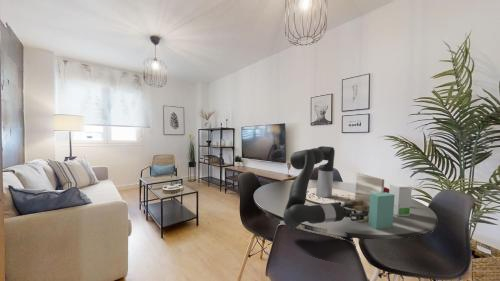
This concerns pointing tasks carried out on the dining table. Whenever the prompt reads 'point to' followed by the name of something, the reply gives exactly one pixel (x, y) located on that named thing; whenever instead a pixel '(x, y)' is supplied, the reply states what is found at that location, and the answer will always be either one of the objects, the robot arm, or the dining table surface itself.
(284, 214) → the robot arm
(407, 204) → the skincare box
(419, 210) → the dining table surface
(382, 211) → the book
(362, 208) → the book rack
